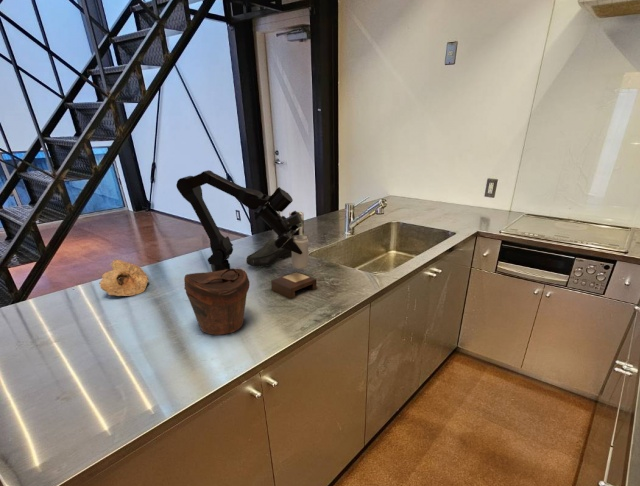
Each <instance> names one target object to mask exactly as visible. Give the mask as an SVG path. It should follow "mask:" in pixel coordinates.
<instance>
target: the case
mask: <svg viewBox="0 0 640 486" xmlns="http://www.w3.org/2000/svg"><path fill="white" fill-rule="evenodd" d="M183 278H184V280H183V281H184V290H185V294H186V296H187V298H188V301H189V303H190V306H191V308H192V311H193V313H194V316H195V318H196V320H197V323H198V326H199V328H200V330H201V331H202V332H204V333H205V334H209V335H216V336H217V335H218V336H219V335H220V336H221V335H227V334H232V333H235V332H236V331H238V330H239V329H241V327H242V326H243V324H244V317H245V310H246V302H247V296H248V295H247V294H248V293H249V289H250V280H249V277H248V273H247V272H246V270H244V269H242V268H230V269H228V270H220V271H215V272H212V271H208V272H193V273H186V274H185V275H184V277H183Z"/></svg>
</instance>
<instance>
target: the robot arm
mask: <svg viewBox="0 0 640 486" xmlns="http://www.w3.org/2000/svg"><path fill="white" fill-rule="evenodd" d="M204 185H208V186H211V187H213V188H216V190H217V189H218V190H219V191H222V192H223V193H226V195H229V196H232V197H234V198H235V199H237V200H238V201H239V202H240V203H241V204H242V205H244V206H245V207H246V208H247V209H250V210H252V211H253V213H254V220H257V219H259V218H261V219H262V221H264V223H265V224H266V225H268V226H269V231H271V232H272V231H273V232H274V233H275V234H276V235H277V238H276V241H275V246H276V247H277V248H278V249H279V248H280V247H281V246H282V245H283V246H282V247H281V248H284V249H287V250H290V251H293V252H295V253H298V254H300V255H301V254H302V253H303V252H302V251H301V249H300V248H299V247H298V245H297V244H296V243H295V241H294V236H295V235H300V234H299V233H300V228H299V227H300V223H301V221H302V218H301V214H299V213H298V211H296V210H293V211H291V212H292V213H291V216H289V215H288V217H286V216H284V215H281V214H280V213H283V212H284V211H285V210H286V209H287V208H288V207H289V205H291V204H292V202H293V198H292V196H291V195H290V193H288V192H287V191H286V190H285V189H283V188H281V187H280V186H279V187H277V188H276V189H275V190H274V192H273V193H272V194H271V195H268V194H263V192H262V191H260V190H257V189H254V188H249V187H244V186H241V185H239V184H237V183H235V182H233V181H231V180H229V179H227V178H225V177H224V176H221V175H219V174H217V173H215V172H213V171H212V170H209V169H208V170H204V171H201V172H200V173H198V174H196V175H186V176H184V177H181V178H179V179H178V180H177V181H176V186H175V187H176V189H177V191H178V192H179V194H180V195H181V196H182V198H183V199H184V200H185V201H187V202H188V203H189V204H190V205H191V207H192V209H193V211H194V213H195V214H196V217H197V218H198V220H199V222H200V224H201V226H202V228H203V230H204V231H205V233H206V235H207V237H208V239H209V245H210V246H209V248H210V250H211V255H210V256H209V257H208V258H207V262H208V264H209V265H210V269H211V272H215V271H220V270H228V269H231V263H230V262H229V259H230V256H231V255H232V254H233V252H234V248H233V246H234V244H233V243H232V242H231V240H230V237H229V236H228V235H227V236H226V237H225V236H224V234H223V235H222V233H221V231H220V229H219V227H218V226H217V224H216V222H215V219H214V218H213V216H212V214H211V212H210V210H209V208H208V206H207V204H206V202H205V200H204V198H203V188H202V186H204ZM265 205H266V206H265ZM260 207H261V208H260ZM257 209H258V210H257ZM254 210H255V211H254ZM278 212H280V213H278ZM297 228H299V229H298V230H296V229H297Z"/></svg>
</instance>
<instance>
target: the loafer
mask: <svg viewBox="0 0 640 486" xmlns="http://www.w3.org/2000/svg"><path fill="white" fill-rule="evenodd" d="M276 240H277V238H276V239H275V238H274V237H270V238H269V239H268V240H267V242H266V243H265V244H264V245H263V246H262V247H261V248H259V249H258V250H256V251H254V252H253V253H250V254H249V255H247V257H246V264H247V265H248V266H250V267H251V266H252V267H261V268H262V267H268V266H272V265H274V263H276V262H277V261H278V260H279V259H280V260H281V259H288V258H290V257H292V251H290V250H287V249H284V248H281V247H282V246H283V245H282V246H281V247H280V248H279V249H278V248H277V247H276V246H275V241H276Z"/></svg>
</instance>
